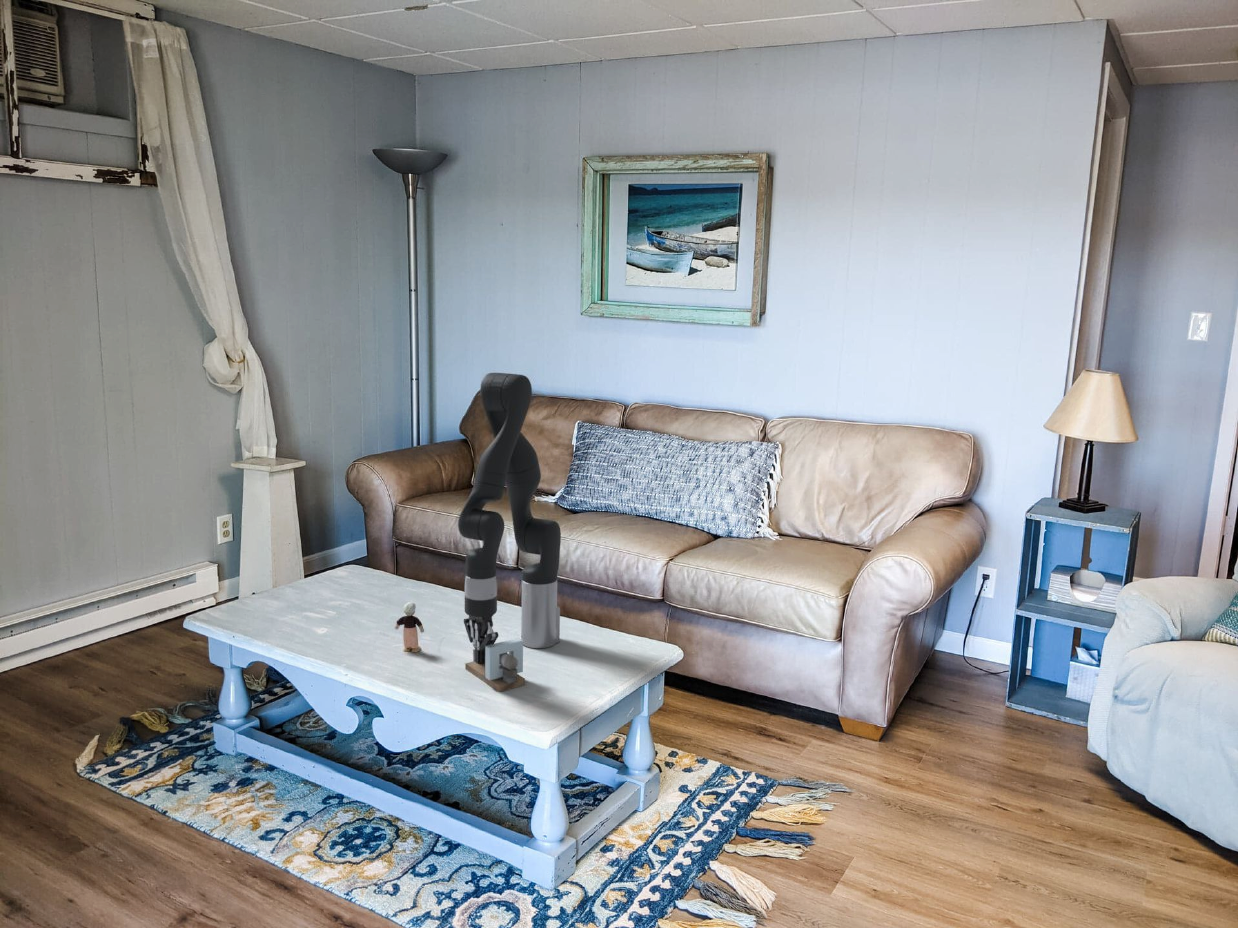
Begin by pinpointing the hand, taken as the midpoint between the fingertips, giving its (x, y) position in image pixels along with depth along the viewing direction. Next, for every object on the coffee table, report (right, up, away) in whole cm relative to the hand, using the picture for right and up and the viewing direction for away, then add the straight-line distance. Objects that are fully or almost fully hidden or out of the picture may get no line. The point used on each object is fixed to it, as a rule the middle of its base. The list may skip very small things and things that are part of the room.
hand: (480, 662), depth 223 cm
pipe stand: (+3, -4, +2) cm, 5 cm away
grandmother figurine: (-21, -1, +18) cm, 27 cm away
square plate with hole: (+6, -2, -2) cm, 7 cm away
